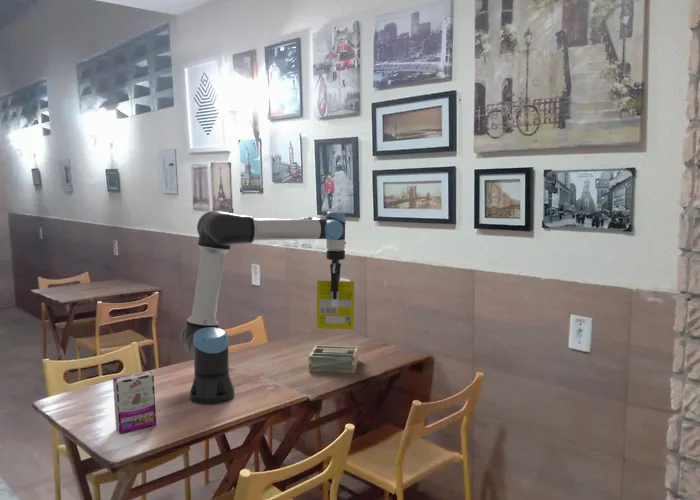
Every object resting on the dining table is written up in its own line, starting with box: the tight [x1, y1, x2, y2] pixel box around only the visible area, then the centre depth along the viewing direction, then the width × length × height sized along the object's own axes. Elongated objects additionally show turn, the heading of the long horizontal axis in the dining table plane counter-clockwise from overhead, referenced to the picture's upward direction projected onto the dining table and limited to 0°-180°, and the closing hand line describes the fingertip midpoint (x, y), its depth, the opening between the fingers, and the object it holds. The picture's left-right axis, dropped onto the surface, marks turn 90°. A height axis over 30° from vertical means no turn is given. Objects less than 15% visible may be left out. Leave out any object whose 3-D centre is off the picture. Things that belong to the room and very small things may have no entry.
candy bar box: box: [112, 370, 157, 435], centre depth 180 cm, size 11×5×16 cm, turn 126°
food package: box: [316, 280, 355, 330], centre depth 242 cm, size 15×1×20 cm, turn 85°
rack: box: [308, 344, 359, 374], centre depth 240 cm, size 16×18×6 cm
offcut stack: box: [322, 349, 348, 354], centre depth 240 cm, size 5×12×6 cm, turn 84°
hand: (335, 306), depth 242 cm, fingers closed on food package
